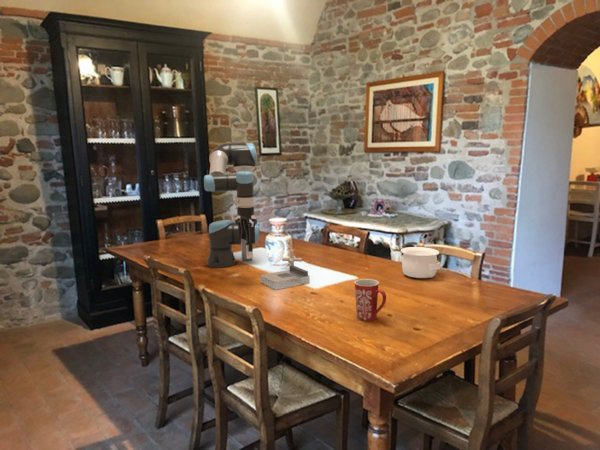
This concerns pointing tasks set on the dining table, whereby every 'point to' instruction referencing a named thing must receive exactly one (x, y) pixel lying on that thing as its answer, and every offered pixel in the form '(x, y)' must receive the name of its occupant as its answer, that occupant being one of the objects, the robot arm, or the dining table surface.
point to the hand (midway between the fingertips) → (247, 256)
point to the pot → (419, 262)
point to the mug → (367, 299)
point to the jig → (286, 278)
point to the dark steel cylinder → (244, 250)
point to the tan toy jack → (292, 258)
